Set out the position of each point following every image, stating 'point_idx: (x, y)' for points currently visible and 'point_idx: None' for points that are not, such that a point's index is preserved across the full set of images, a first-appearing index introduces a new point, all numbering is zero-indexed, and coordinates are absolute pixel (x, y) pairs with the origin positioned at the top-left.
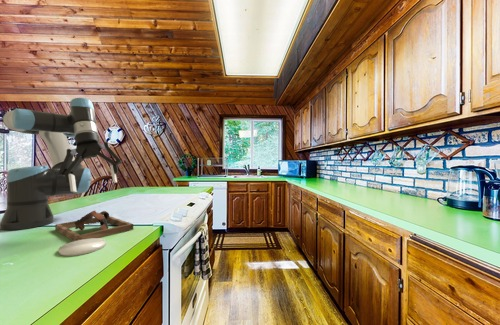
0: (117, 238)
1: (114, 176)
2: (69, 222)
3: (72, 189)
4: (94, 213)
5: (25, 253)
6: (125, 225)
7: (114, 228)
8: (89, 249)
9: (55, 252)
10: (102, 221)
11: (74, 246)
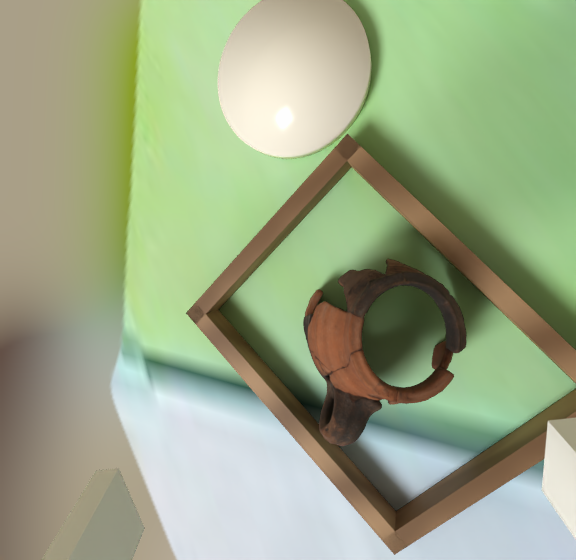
0: (216, 189)
1: (64, 535)
2: None
3: (564, 431)
4: (345, 331)
5: (508, 18)
6: (210, 293)
7: (240, 253)
8: (239, 21)
9: (377, 32)
10: (310, 314)
11: (312, 51)
